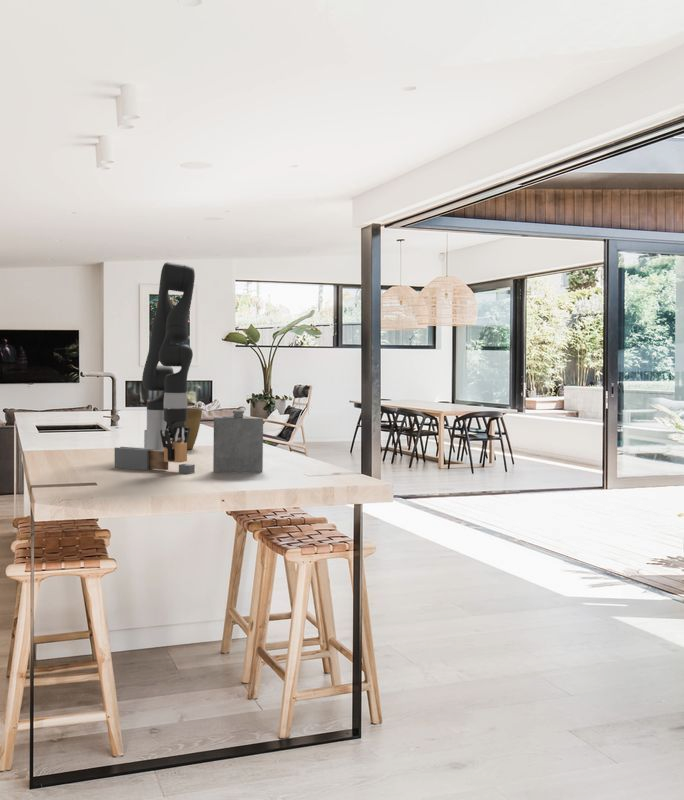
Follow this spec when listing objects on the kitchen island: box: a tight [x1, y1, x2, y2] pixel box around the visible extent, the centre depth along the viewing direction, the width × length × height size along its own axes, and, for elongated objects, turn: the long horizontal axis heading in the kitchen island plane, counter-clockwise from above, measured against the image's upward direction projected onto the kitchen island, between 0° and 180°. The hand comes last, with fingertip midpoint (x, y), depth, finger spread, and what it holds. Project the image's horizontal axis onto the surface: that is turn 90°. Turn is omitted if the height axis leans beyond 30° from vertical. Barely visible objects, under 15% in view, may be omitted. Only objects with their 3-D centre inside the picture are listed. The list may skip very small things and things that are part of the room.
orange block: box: [164, 442, 188, 464], centre depth 276 cm, size 6×4×6 cm, turn 67°
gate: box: [149, 450, 169, 471], centre depth 280 cm, size 14×1×6 cm, turn 66°
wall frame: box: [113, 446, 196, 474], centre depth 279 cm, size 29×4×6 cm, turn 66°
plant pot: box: [184, 407, 203, 450], centre depth 338 cm, size 15×15×16 cm
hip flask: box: [212, 409, 264, 473], centre depth 278 cm, size 16×4×20 cm, turn 94°
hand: (175, 459), depth 276 cm, fingers closed on orange block, 4 cm apart
